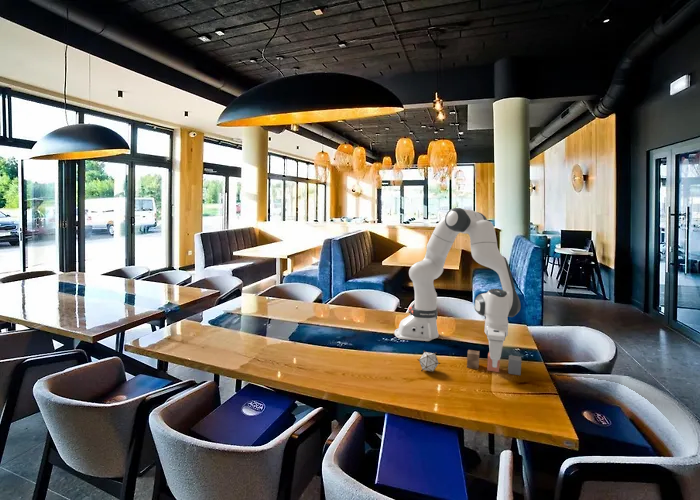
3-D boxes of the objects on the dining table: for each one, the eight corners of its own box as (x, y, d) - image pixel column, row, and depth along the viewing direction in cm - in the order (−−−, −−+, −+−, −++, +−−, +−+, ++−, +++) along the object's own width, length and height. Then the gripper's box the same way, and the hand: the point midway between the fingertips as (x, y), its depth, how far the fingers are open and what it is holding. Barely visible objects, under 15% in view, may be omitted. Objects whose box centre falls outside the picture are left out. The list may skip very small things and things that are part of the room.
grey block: (508, 373, 157) (509, 359, 156) (508, 369, 161) (508, 355, 161) (520, 375, 156) (521, 360, 155) (520, 370, 160) (520, 356, 159)
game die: (423, 378, 160) (413, 355, 164) (442, 371, 160) (432, 347, 164) (424, 376, 152) (414, 351, 156) (445, 368, 152) (434, 344, 156)
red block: (487, 370, 160) (487, 356, 159) (487, 366, 164) (488, 352, 163) (499, 372, 158) (499, 357, 158) (499, 367, 162) (499, 353, 162)
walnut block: (466, 367, 163) (467, 353, 162) (467, 363, 167) (468, 349, 166) (478, 369, 161) (478, 355, 160) (478, 364, 165) (479, 351, 165)
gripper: (488, 321, 170) (487, 352, 172) (487, 336, 151) (485, 370, 153) (504, 323, 168) (502, 354, 169) (505, 338, 149) (503, 373, 150)
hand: (494, 362), depth 161 cm, fingers open, 8 cm apart
